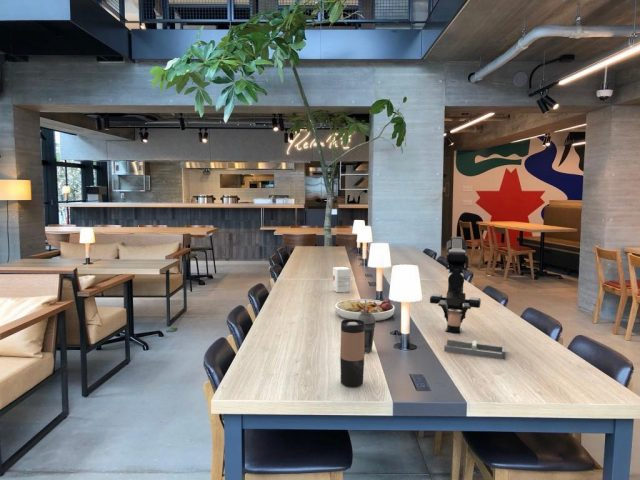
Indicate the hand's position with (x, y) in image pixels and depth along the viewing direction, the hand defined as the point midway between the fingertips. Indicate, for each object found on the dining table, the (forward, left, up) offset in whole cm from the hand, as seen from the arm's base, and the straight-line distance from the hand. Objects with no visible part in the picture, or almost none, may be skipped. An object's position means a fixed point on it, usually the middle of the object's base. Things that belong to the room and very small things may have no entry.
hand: (454, 321), depth 178 cm
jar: (0, 0, -1) cm, 1 cm away
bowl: (-35, -48, -11) cm, 60 cm away
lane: (0, +8, -11) cm, 14 cm away
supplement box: (-84, -79, -11) cm, 116 cm away
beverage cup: (+17, -31, -11) cm, 37 cm away
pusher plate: (0, +8, -11) cm, 14 cm away
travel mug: (+48, -26, -11) cm, 56 cm away
